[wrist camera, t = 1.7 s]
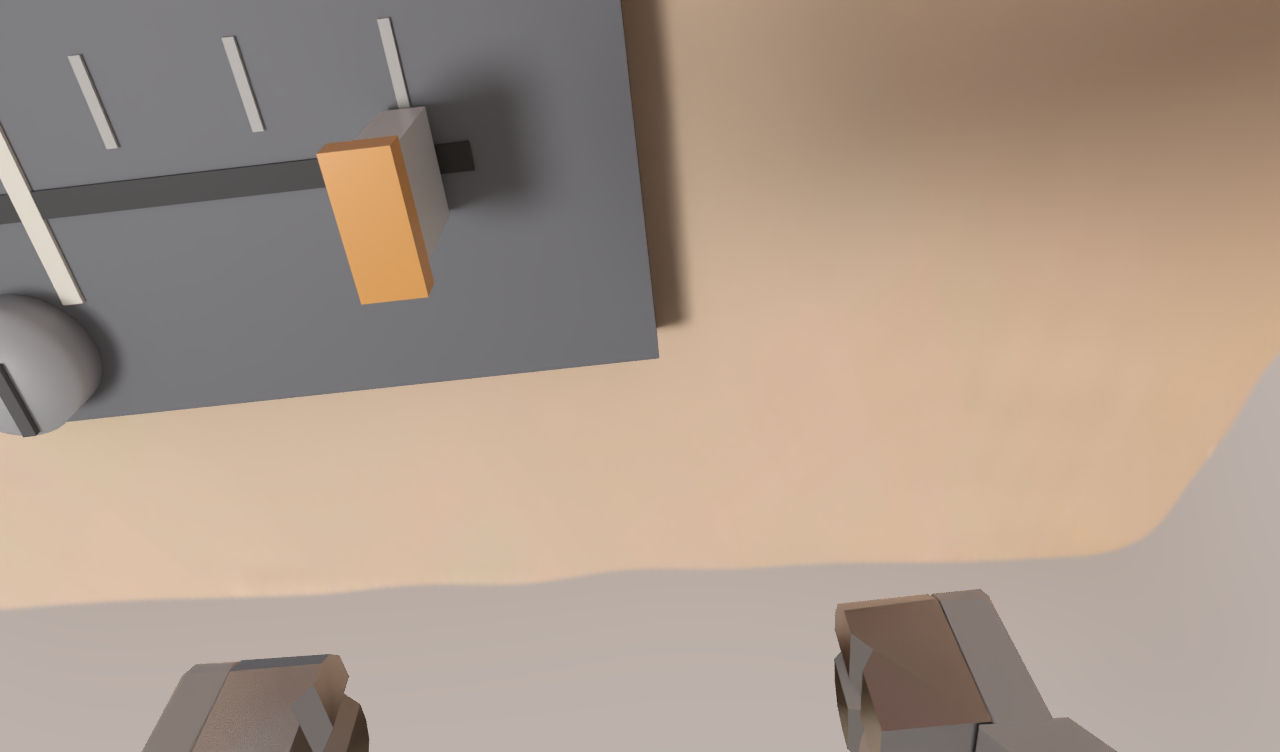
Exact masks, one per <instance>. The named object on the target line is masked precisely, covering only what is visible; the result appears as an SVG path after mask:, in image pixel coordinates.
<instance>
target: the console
mask: <svg viewBox="0 0 1280 752" xmlns="http://www.w3.org/2000/svg"><path fill="white" fill-rule="evenodd" d="M422 106H425V109H426V113H427V117H428V122H429V126H430V130H431V135H432V139H433V143H434V148H435V152H436V157H437V161H438V165H439V170H440V174H441V178H442V183H443V187H444V191H445V196H446V200H447V205H448V209H449V213H450V215H449V217H448V219H447V222H446V224H445V226H444V228H443V231H442V233H441V235H440V237H439V239H438V242H437V244H436V246H435V248H434V250H433V253H432V255H431V257H430V259H429V263H430V267H431V271H432V275H433V279H434V285H433V288H432V290H431V292H430V295H429V297H426V298H417V299H408V300H399V301H390V302H381V303H372V304H363V305H361V302H360V298H359V295H358V292H357V288H356V285H355V282H354V278H353V275H352V272H351V268H350V265H349V262H348V259H347V255H346V252H345V249H344V245H343V242H342V239H341V235H340V232H339V229H338V225H337V222H336V219H335V215H334V212H333V209H332V205H331V202H330V199H329V195H328V192H327V189H326V185H325V182H324V179H323V175H322V172H321V169H320V165H319V162H318V159H317V155H316V154H317V153H318V152H319V151H320V150H321V149H322V148H323V147H324V146H325V145H326V144H327V143H335V142H344V141H353V140H354V139H355V138H356V137H357V136H358V135H359V134H360V133H361V132H362V130H363V129H364V128H365V127H366V126H367V125H368V124H369V123H370V122H371V121H372V120H373V118H374V117H375V116H376V115H377V114H378V113H379V112H380V111H388V110H397V109H405V108H414V107H422ZM656 358H659V350H658V340H657V330H656V321H655V312H654V302H653V293H652V284H651V275H650V266H649V257H648V247H647V238H646V229H645V220H644V211H643V202H642V192H641V183H640V174H639V165H638V156H637V146H636V137H635V128H634V119H633V110H632V101H631V91H630V82H629V73H628V64H627V55H626V46H625V36H624V27H623V18H622V9H621V0H0V432H3V433H7V434H12V435H22V436H23V437H29V436H36V435H40V434H45V433H48V432H51V431H53V430H55V429H58V428H59V427H61V426H62V425H63V424H65V423H66V422H69V421H78V420H87V419H97V418H106V417H115V416H125V415H134V414H143V413H153V412H162V411H171V410H181V409H190V408H199V407H209V406H218V405H227V404H237V403H246V402H255V401H265V400H274V399H283V398H293V397H302V396H311V395H321V394H330V393H339V392H349V391H358V390H367V389H377V388H386V387H395V386H405V385H414V384H423V383H433V382H442V381H451V380H461V379H470V378H479V377H489V376H498V375H507V374H517V373H526V372H535V371H545V370H554V369H563V368H573V367H582V366H591V365H600V364H610V363H619V362H628V361H638V360H647V359H656Z"/></svg>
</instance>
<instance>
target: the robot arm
mask: <svg viewBox="0 0 1280 752" xmlns="http://www.w3.org/2000/svg"><path fill="white" fill-rule="evenodd" d="M835 632H836V635H837V638H838V642H839V646H840V649H841V652H840V654H839V655H838V656H837V657H836V658H835V659H834V661H835V687H836V696H837V706H838V711H839V716H840V721H841V725H842V730H843V733H844V737H845V741H846V745H847V749H849V750H850V751H851V752H1117V751H1115V750H1114V749H1113V748H1111V747H1110V746H1108V745H1107V744H1105V743H1104V742H1103V741H1101V740H1100V739H1098V738H1097V737H1095V736H1094V735H1093V734H1091V733H1090V732H1088V731H1087V730H1085V729H1084V728H1083V727H1081V726H1080V725H1078V724H1077V723H1076V722H1074V721H1073V720H1071V719H1069V718H1068V717H1066V718H1052V716H1051V714H1050V712H1049V710H1048V708H1047V707H1046V705H1045V703H1044V701H1043V699H1042V697H1041V695H1040V693H1039V691H1038V689H1037V687H1036V685H1035V684H1034V682H1033V680H1032V678H1031V676H1030V674H1029V672H1028V670H1027V669H1026V666H1025V665H1024V663H1023V661H1022V659H1021V657H1020V655H1019V653H1018V651H1017V649H1016V647H1015V646H1014V644H1013V642H1012V640H1011V638H1010V636H1009V635H1008V632H1007V630H1006V629H1005V627H1004V625H1003V623H1002V621H1001V619H1000V617H999V615H998V613H997V611H996V609H995V608H994V606H993V604H992V602H991V600H990V598H989V596H988V595H987V594H985V593H984V592H983V591H982V590H981V589H975V590H965V591H956V592H946V593H936V594H932V595H929V594H926V595H915V596H906V597H897V598H888V599H878V600H870V601H860V602H851V603H842V604H838V605H837V609H836V613H835ZM348 678H349V675H348V673H347V671H346V669H345V667H344V665H343V662H342V660H341V658H340V656H338V655H331V654H325V655H312V656H297V657H285V658H284V657H283V658H271V659H255V660H242V661H238V662H224V663H212V664H211V663H210V664H197V665H195V666H193V667H192V668H191V669H190V670H189V671H188V672H186V673H185V674H184V675H183V676H182V678H181V679H180V681H179V683H178V685H177V687H176V689H175V690H174V692H173V694H172V696H171V698H170V700H169V702H168V704H167V705H166V707H165V709H164V711H163V713H162V715H161V717H160V719H159V721H158V723H157V724H156V726H155V728H154V730H153V732H152V734H151V736H150V737H149V739H148V741H147V743H146V745H145V747H144V749H143V751H142V752H369V735H368V729H367V723H366V718H365V715H364V713H363V711H362V708H361V705H360V704H359V703H358V702H356V701H354V700H353V699H351V698H350V697H348V696H347V695H345V694H344V691H345V688H346V684H347V681H348Z"/></svg>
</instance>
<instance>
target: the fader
mask: <svg viewBox="0 0 1280 752" xmlns="http://www.w3.org/2000/svg"><path fill="white" fill-rule="evenodd" d="M316 155H317V159H318V162H319V165H320V169H321V172H322V175H323V179H324V182H325V185H326V189H327V192H328V195H329V199H330V202H331V205H332V209H333V212H334V215H335V219H336V222H337V225H338V229H339V232H340V235H341V239H342V242H343V245H344V249H345V252H346V255H347V259H348V262H349V265H350V268H351V272H352V275H353V278H354V282H355V285H356V288H357V292H358V295H359V298H360V302H361V305H363V304H372V303H381V302H390V301H399V300H408V299H417V298H426V297H429V295H430V292H431V290H432V288H433V285H434V279H433V275H432V271H431V267H430V263H429V259H430V257H431V255H432V253H433V250H434V248H435V246H436V244H437V242H438V239H439V237H440V235H441V233H442V231H443V228H444V226H445V224H446V222H447V219H448V217H449V215H450V213H449V209H448V205H447V200H446V196H445V191H444V187H443V183H442V178H441V174H440V170H439V165H438V161H437V157H436V152H435V148H434V143H433V139H432V135H431V130H430V126H429V122H428V117H427V113H426V109H425V106H422V107H414V108H405V109H397V110H388V111H380V112H379V113H378V114H377V115H376V116H375V117H374V118H373V120H372V121H371V122H370V123H369V124H368V125H367V126H366V127H365V128H364V129H363V130H362V132H361V133H360V134H359V135H358V136H357V137H356V138H355V139H354V140H353V141H344V142H335V143H327V144H326V145H325V146H324V147H323V148H322V149H321V150H320V151H319V152H318V153H317V154H316Z"/></svg>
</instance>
